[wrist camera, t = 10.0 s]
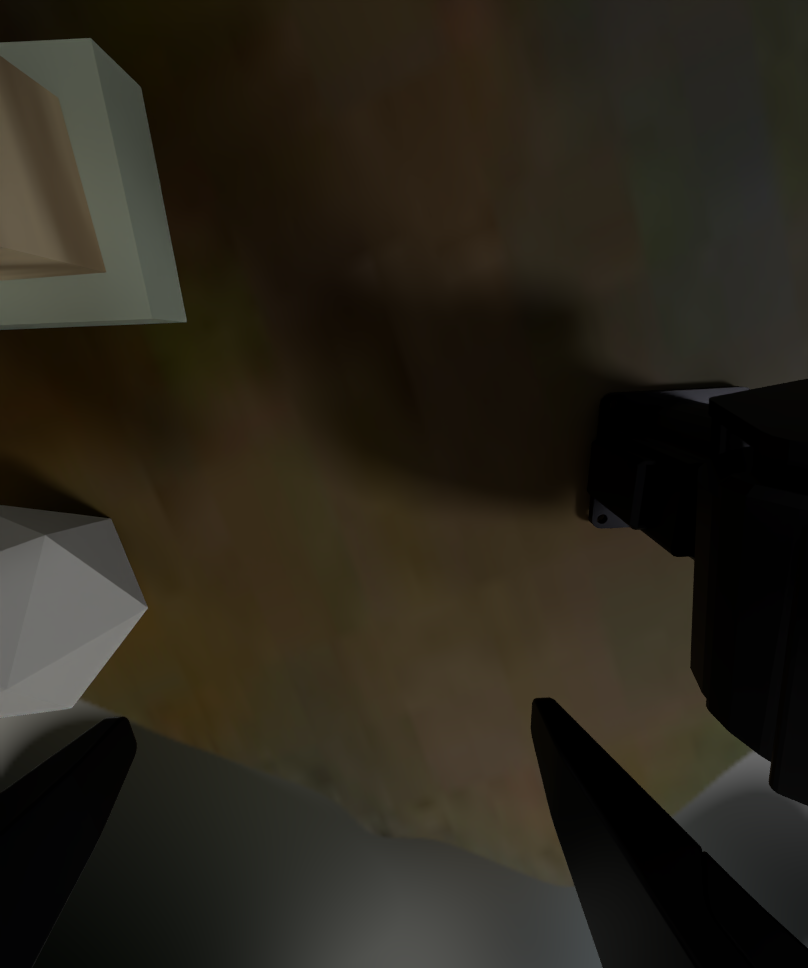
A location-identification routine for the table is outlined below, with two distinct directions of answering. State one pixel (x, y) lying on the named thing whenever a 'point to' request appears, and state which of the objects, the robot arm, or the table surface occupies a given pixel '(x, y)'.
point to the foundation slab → (101, 198)
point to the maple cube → (40, 187)
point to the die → (59, 606)
